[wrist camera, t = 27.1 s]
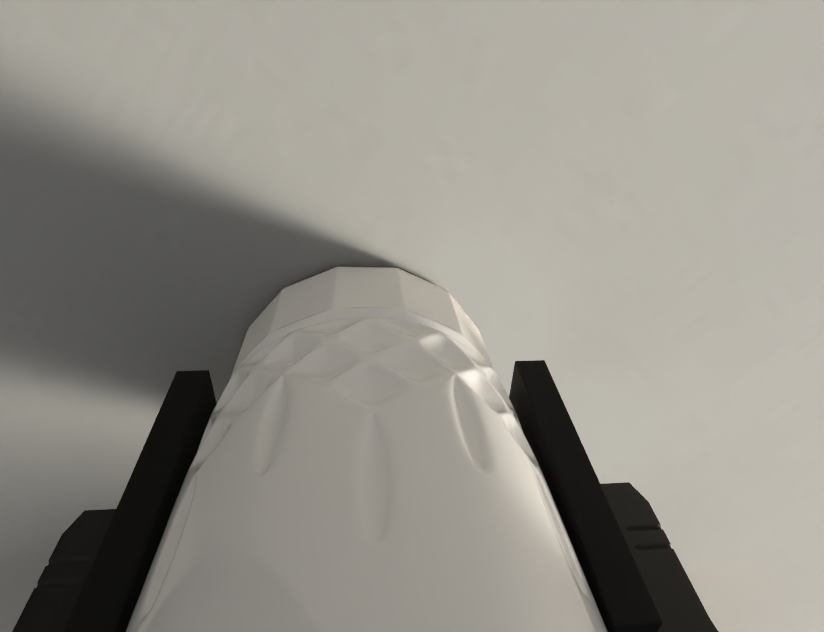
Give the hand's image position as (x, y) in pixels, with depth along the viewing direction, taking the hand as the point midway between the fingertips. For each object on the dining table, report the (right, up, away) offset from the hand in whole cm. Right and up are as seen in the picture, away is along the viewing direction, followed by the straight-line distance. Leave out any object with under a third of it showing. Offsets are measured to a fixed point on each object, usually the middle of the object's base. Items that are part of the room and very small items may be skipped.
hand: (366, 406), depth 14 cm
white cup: (0, +1, +1) cm, 2 cm away
